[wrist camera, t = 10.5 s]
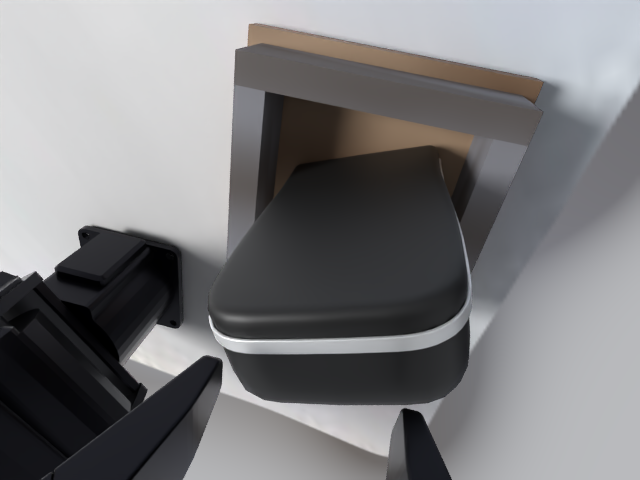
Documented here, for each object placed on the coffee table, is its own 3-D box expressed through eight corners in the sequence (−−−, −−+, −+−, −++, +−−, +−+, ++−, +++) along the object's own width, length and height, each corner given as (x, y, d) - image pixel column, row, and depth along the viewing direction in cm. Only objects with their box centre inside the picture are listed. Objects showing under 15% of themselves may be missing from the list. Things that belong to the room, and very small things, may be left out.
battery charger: (308, 231, 21) (222, 426, 11) (290, 162, 19) (171, 322, 9) (447, 217, 19) (489, 436, 9) (442, 139, 17) (487, 310, 8)
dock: (443, 299, 23) (449, 351, 19) (241, 250, 24) (213, 291, 20) (536, 78, 16) (570, 97, 13) (256, 23, 17) (219, 27, 14)
